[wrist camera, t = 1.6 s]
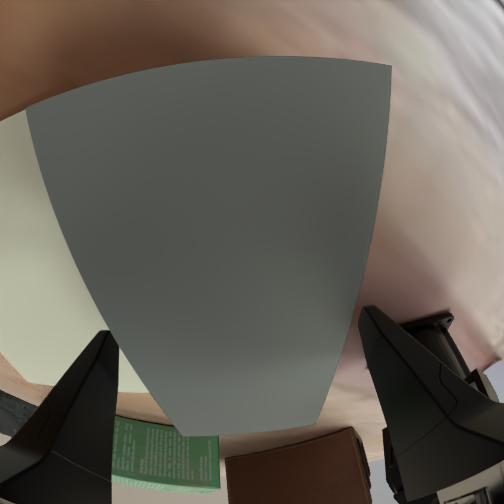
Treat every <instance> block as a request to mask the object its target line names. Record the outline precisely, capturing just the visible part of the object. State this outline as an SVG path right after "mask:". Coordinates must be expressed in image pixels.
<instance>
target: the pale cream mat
mask: <svg viewBox="0 0 504 504" xmlns="http://www.w3.org/2000/svg"><path fill="white" fill-rule="evenodd" d="M100 330H109V328H108V327H107V325H106V323H105V321H104V319H103V318H102V316H101V314H100V312H99V310H98V308H97V307H96V305H95V303H94V301H93V299H92V297H91V295H90V293H89V291H88V289H87V287H86V285H85V283H84V281H83V279H82V277H81V275H80V273H79V270H78V268H77V266H76V264H75V262H74V260H73V257H72V255H71V253H70V250H69V248H68V246H67V243H66V241H65V239H64V236H63V234H62V231H61V229H60V226H59V224H58V221H57V218H56V216H55V213H54V210H53V207H52V205H51V202H50V199H49V196H48V193H47V190H46V187H45V184H44V181H43V178H42V174H41V171H40V168H39V164H38V161H37V157H36V153H35V150H34V146H33V142H32V138H31V134H30V129H29V125H28V120H27V116H26V111H25V110H23V111H21V112H19V113H16V114H14V115H12V116H10V117H8V118H6V119H4V120H2V121H0V353H1V354H2V355H3V356H4V357H5V358H6V359H7V360H8V362H9V363H10V364H11V365H12V366H13V367H14V368H15V369H16V370H17V371H18V372H19V373H20V374H21V375H22V377H23V378H24V379H25V380H26V381H27V382H31V383H37V384H44V385H51V386H55V385H56V383H57V382H58V381H59V380H60V378H61V377H62V376H63V374H64V373H65V372H66V371H67V369H68V368H69V367H70V366H71V364H72V363H73V362H74V361H75V359H76V358H77V357H78V356H79V355H80V353H81V352H82V351H83V350H84V348H85V347H86V346H87V345H88V344H89V342H90V341H91V340H92V339H93V338H94V336H95V335H96V334H97V333H98V332H99V331H100ZM118 392H140V393H149V391H148V390H147V388H146V387H145V385H144V384H143V383H142V381H141V380H140V378H139V377H138V375H137V374H136V372H135V371H134V369H133V368H132V366H131V365H130V363H129V361H128V360H127V358H126V357H125V355H124V354H123V352H122V350H121V349H120V347H119V383H118Z"/></svg>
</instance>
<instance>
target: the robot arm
mask: <svg viewBox="0 0 504 504" xmlns="http://www.w3.org/2000/svg"><path fill="white" fill-rule="evenodd" d="M453 320H454V316H453V315H452V313H448V314H444V315H440V316H437V317H433V318H429V319H425V320H421V321H417V322H413V323H409V324H404V325H400V326H399V325H398V324H396V323H395V322H394V321H393V320H392V319H390V318H389V317H388V316H387V315H386V314H384V313H383V312H382V311H381V310H380V309H378V308H377V307H376V306H374V305H369V306H364V307H363V308H362V311H361V314H360V317H359V321H358V327H359V332H360V336H361V340H362V344H363V349H364V353H365V358H366V362H367V365H368V368H369V371H370V374H371V377H372V380H373V383H374V386H375V389H376V392H377V395H378V398H379V402H380V405H381V408H382V411H383V414H384V418H385V421H386V424H387V427H386V428H384V429H383V430H382V432H383V445H384V457H385V470H386V481H387V483H388V484H389V487H390V488H391V490H392V491H393V493H394V499H395V500H396V501H397V502H398V503H399V504H504V403H500V402H499V399H498V397H497V394H496V392H495V390H494V388H493V386H492V385H491V383H490V381H489V379H488V378H487V376H486V375H485V374H484V373H483V372H481V371H480V370H479V369H477V368H476V369H475V370H473V371H472V372H470V370H469V368H468V366H467V365H466V363H465V361H464V359H463V357H462V355H461V353H460V351H459V350H458V348H457V346H456V344H455V343H454V341H453V339H452V337H451V336H450V334H449V332H448V328H449V326H450V325H451V323H452V321H453ZM118 383H119V345H118V344H117V342H116V340H115V339H114V337H113V335H112V334H111V332H110V330H100V331H99V332H98V333H97V334H96V335H95V336H94V338H93V339H92V340H91V341H90V342H89V344H88V345H87V346H86V347H85V348H84V350H83V351H82V352H81V353H80V355H79V356H78V357H77V358H76V359H75V361H74V362H73V363H72V364H71V366H70V367H69V368H68V369H67V371H66V372H65V373H64V374H63V376H62V377H61V378H60V380H59V381H58V382H57V383H56V385H55V386H54V387H53V389H52V390H51V391H50V393H49V394H48V395H47V397H46V398H45V399H44V400H43V402H42V403H41V404H40V406H39V407H38V408H37V409H36V411H35V412H34V413H33V414H32V416H31V417H30V418H29V419H28V420H27V421H26V423H25V424H24V425H23V426H22V427H21V428H20V429H19V430H18V432H17V433H16V434H15V435H14V436H13V437H12V438H11V440H9V441H8V442H7V443H6V444H4V445H2V446H0V504H112V497H111V496H112V492H111V491H112V488H111V487H112V483H111V481H112V453H113V437H114V424H115V413H116V403H117V394H118Z"/></svg>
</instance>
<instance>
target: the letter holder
mask: <svg viewBox="0 0 504 504" xmlns="http://www.w3.org/2000/svg"><path fill="white" fill-rule="evenodd" d="M225 465H226V477H227V489H228V501H229V504H372V498H371V494H370V488H371V483H370V479H369V477H370V469H369V466H368V462H367V458H366V454H365V450H364V447H363V442H362V439H361V438H360V437H359V435H358V434H357V432H356V431H355V429H354V428H353V427H349V428H346V429H343V430H340V431H337V432H334V433H331V434H328V435H325V436H321V437H318V438H315V439H311V440H308V441H304V442H300V443H296V444H292V445H288V446H284V447H280V448H276V449H271V450H266V451H262V452H257V453H252V454H246V455H240V456H234V457H228V458H225Z"/></svg>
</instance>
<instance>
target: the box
mask: <svg viewBox="0 0 504 504" xmlns="http://www.w3.org/2000/svg"><path fill="white" fill-rule="evenodd" d="M111 482H116V483H120V484H125V485H130V486H135V487H141V488H147V489H154V490H161V491H169V492H179V493H191V494H207V493H210V492H213V491H216V490H220V488H221V487H220V466H219V436H182V435H181V433H180V432H179V431H178V430H177V428H176V427H171V426H164V425H158V424H153V423H147V422H142V421H138V420H133V419H129V418H124V417H120V416H116V415H115V424H114V437H113V453H112V481H111Z"/></svg>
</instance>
